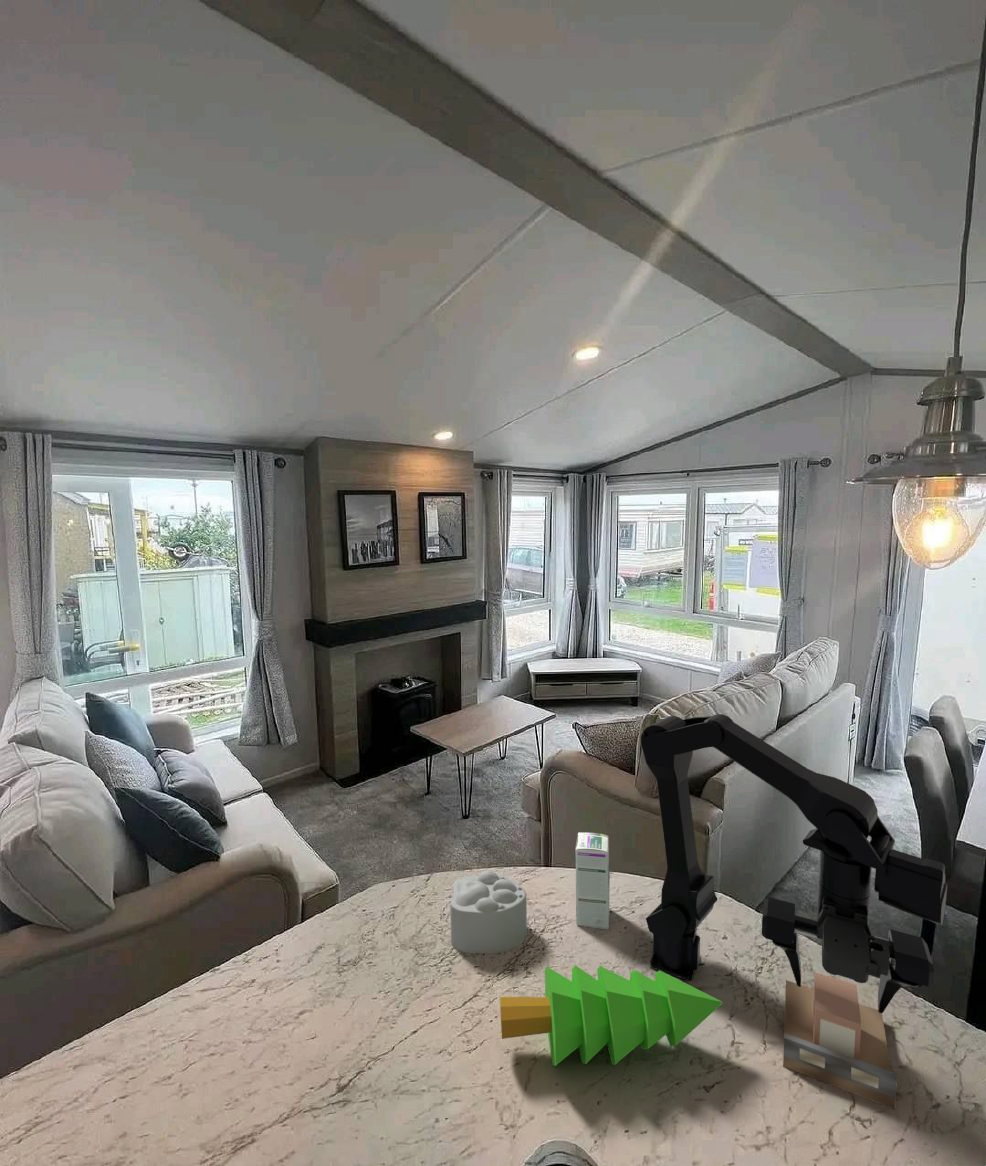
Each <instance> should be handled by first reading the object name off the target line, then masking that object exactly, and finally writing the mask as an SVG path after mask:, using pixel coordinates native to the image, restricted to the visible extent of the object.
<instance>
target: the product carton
mask: <svg viewBox="0 0 986 1166" xmlns="http://www.w3.org/2000/svg"><path fill="white" fill-rule="evenodd" d="M857 986H858V985H857V984H854V983H852V982H848V981H845V980H841V979H839V978H835V977H833V976H829V975H825V974H822V973H819V972H815V971H814V973H813V989H814V990H813V1010H812V1013H813V1044H816V1045H819V1046H821V1047H824V1048H827V1049H830V1050H832V1051H835V1052H838V1053H841V1054H843V1055H846V1056H849V1057H852V1058H854V1059H857V1060H859V1056H860V1038H861V1018H860V1010H859V1004H860V1002H859V996H858V987H857Z"/></svg>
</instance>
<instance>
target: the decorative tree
mask: <svg viewBox="0 0 986 1166" xmlns="http://www.w3.org/2000/svg"><path fill="white" fill-rule="evenodd" d="M596 971H597V979H596V978H595V977H593V976H592V975H590V973H588V972H586V971H585V970H583V969H582V968H580V967H579V966H578V965H574V966H573V967H572V968H571V980H570V979H569V978H567V977H565V976H564V975H562V974H561V973H559V972H557V971H555V970H553V969H552V968H551V967H549V966H547V967H546V968H545V970H544V996H543V997H542V996H540V997H539V996H533V997H531V996H500V997H499V1007H500V1010H499V1011H500V1023H501V1025H500V1028H501V1030H500V1031H501V1039H502V1040H503V1039H504V1040H505V1039H510V1038H511V1039H512V1038H518V1037H519V1038H520V1037H527V1036H535V1035H541V1034H542V1035H543V1034H547V1036H548V1042H549V1043H548V1044H549V1050H550V1056H551V1063H552V1066H555V1067H557V1065H558V1064H560V1063H561V1062H562V1061H563V1060H564V1059H566V1057H569V1056H570V1054H571V1053H573V1052H574V1051H575V1050H576V1049H578V1050H579V1054H580V1059H581V1064H585V1065H587V1063H589V1061H591V1060H592V1058H594V1057H595V1055H597V1054H598V1053H599V1052H600V1051H601V1050H602V1049H603V1048H604V1047H605V1046H607V1050H608V1054H609V1059H610V1063H611V1065H617V1064H618V1063H619V1062H620V1061H621V1060H623V1059H624V1058H625V1057H626V1056H627V1055H628V1054H630V1053H631V1052H632V1051H633V1050H634V1049H636V1048H637V1047H638V1046H639V1045H640V1049H641V1050H649V1049H650V1048H652V1046H654V1045H655V1044H656V1043H657V1042H659V1041H661V1039H662V1038H663V1037H665V1036H666V1039H667V1041H668V1044H669V1047H675V1046H677V1045H679V1044H680V1043H681V1042H682V1041H683V1040H684V1039H685V1038H686V1037H687V1036H688V1035H689V1034H690V1033H692V1032H693V1031H694V1030H695V1029H696V1028H697V1027H698V1026H699V1025H700V1024H701V1023H703V1022H704V1021H705V1020H706V1019H707V1018H708V1017H710V1015H711V1014H713V1013H714V1012H715V1011H716V1010H717V1009H718V1008H719V1007H720V1006H721V1005H722V1004H724V1001H721V1000H720V999H717V998H716V997H714V996H712V995H709V994H707V993H706V992H704V991H702V990H699V989H698V988H696V987H694V986H692V985H690V984H688V983H685V982H684V981H681V980H680V979H678V978H676V977H673V975H671V974H669V973H666V972H663V971H660V970H658V971H656V972H655V973H654V978H655V979H652V978H651V977H649V976H647V975H645V974H644V973H642V972H640V971H638V970H637V969H636V970H635V969H634V970H632V971H630V973H629V979H627V978H626V977H623V976H622V975H620V974H617V973H615V972H614V971H611V970H610V969H608V968H607V967H604V966H601V965H599V966H598V968H597V969H596Z"/></svg>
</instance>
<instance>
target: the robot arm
mask: <svg viewBox="0 0 986 1166" xmlns="http://www.w3.org/2000/svg"><path fill="white" fill-rule="evenodd" d="M639 741H640V748H641V751H642V753H643V757H644V761H645V764H646V765H647V767H648V769H649V770H650V771H651V773H652V774H653V776H654V778H655V781H656V786H657V795H658V803H659V811H660V822H661V828H662V829H661V830H662V836H663V837H662V838H663V846H664V853H665V861H666V872H665V875H664V879H663V883H662V888H661V897H660V898H661V899H660V903H659V905H657V906H656V907H655V908H654V910H652V912H651V913H650V914H649V915H648V916H646V918H645V921H646V925H647V928H648V931H649V932H650V934H651V933H652V956H651V958H650V961H649V967H650V968H653V969H655V970H658V971H659V970H660V971H662V972H664V973H666V974H668V975H671V976H675V977H678V978H681V979H683V980H686V981H693V978H694V975H695V974H694V973H695V971H697V970H698V969H699V964H700V959H701V958H700V957H701V937H700V936H699V935H697V933H698V932H697V929H698V927H699V926H700V925H701V924H702V923H703V921H704V920H705V919H706V918H707V917H708V916H709V914H710V913H711V912H712V910H713V909H714V905H715V903H717V901H718V897H717V895H716V892H715V891H716V890H715V879H714V876H713V875H708V874H705V873H704V871H703V870H702V868H701V867H700V864H699V861H698V853H697V843H696V835H695V828H694V820H693V812H692V804H691V803H692V802H691V796H690V788H689V786H690V785H689V780H688V773H689V768H690V766H691V762H692V758H693V752H694V751H698V750H701V749H707V748H714V749H715V750H717V751H719V752H720V753H722V754H723V755H725V756H726V757H727V758H729V759H731V760H732V761H733V762H735V763H736V764H738V765H739V766H741V767H743V768H744V769H745V770H746V771H748V772H750V773H751V774H752V775H754V776H756V777H757V778H759V779H760V780H762V781H763V782H765V783H766V784H768V785H769V786H771V787H772V788H774V789H775V790H777V791H778V792H780V793H781V794H782V795H784V796H785V797H787V798H788V799H789V800H790V801H791V802H793V804H795V805H796V806H797V808H798V809H799V811H800V812H801V813H802V815H803V816H804V818H805V819H806V820H807V821H808V822H809V823H810V824H811V825H813V827H815V828H814V829H811V830H809V831H808V833H807V834H806V836H805V837H804V838H803V839H802V844H803V845H805V847H806V846H807V847H810V848H812V849H814V850H815V849H816V850H818V851H819V865H818V866H819V867H818V868H819V869H818V870H819V871H818V888H817V891H818V892H817V910H816V911H817V913H816V920H813V919H810V918H807V917H803V916H799V915H796V904H795V903H793V902H790V901H789V902H788V901H785V900H781V899H778V898H774V897H770V896H767V898H765V899H764V900H763V905H762V906H763V908H762V918H761V935H762V936H763V937H764V939H766V940H770V941H772V944H773V945H774V946H775V947H778V948H781V950H783V951H784V953H785V955H786V957H787V959H788V962H789V964H790V968H791V971H792V974H793V978H794V981H795V983H797V986H799V987H801V985H802V966H801V965H802V964H801V955H800V954H801V953H800V941H799V935H803V936H805V937H809V938H813V939H816V940H820V941H821V965H822V968H823V970H824V971H825V972H826V973H828V974H830V975H833V976H840V977H843V978H846V979H850V980H851V981H852V980H853V981H854V982H856V983H859V984H865V983H867V982H868V980H869V977H870V976H872V977H873V978H878V979H879V984H878V985H879V986H878V990H877V1010H878V1012H879V1013H882V1014H883V1013H885V1010H886V1008H888V1005H889V1004H890V1002H891V1001H892V999H893V998H894V997H895V995H896V993H897V992H898V991H899V990H900V989H901V988H903V987H912V988H918V987H919V986H920V985H922V986H924V987H927V988H928V987H932V986H933V985H934V978H935V977H934V976H935V970H934V963H933V959H932V956H931V954H930V950H929V946H928V943H927V942H926V941H925V940H924V939H923V937H921V936H918V935H913V934H909V933H906V932H903V931H899V930H895V929H891V928H890V929H889V930H888V934H887V935H888V936H887V939H886V938H883V937H879V936H876V935H875V936H874V935H873V934H872V931H871V928H870V925H869V920H870V919H869V918H870V904H871V902H870V901H871V883H872V869H875V872H874V873H875V874H874V875H875V876H874V883H873V884H874V892H875V893H878V901H879V902H883V904H884V905H886V906H888V907H891V908H894V909H895V910H896V909H897V910H899V911H901V912H905V913H907V914H909V915H913V916H915V917H918V918H921V919H924V920H926V921H929V922H930V923H931V922H932V923H934V924H936V925H939V926H943V921H944V918H945V917H944V916H945V912H946V911H945V910H946V902H947V892H948V883H947V882H946V873H945V869H946V866H945V864H944V862H941V861H936V860H934V859H933V860H932V859H929V858H922V857H919V856H915V855H912V854H909V853H905V852H902V851H899V850H896V849H894V845H895V843H896V841H895V839H894V836H892V835H891V832H889V830H888V828H887V827H886V825H885V824H884V823H883V821H882V819H880V817H879V816H878V815H879V813H878V808H877V806H876V802H875V800H874V799H873V797H872V796H871V795H870V794H869V793H867V792H866V791H865V790H863V789H861V788H859V787H858V786H855V785H853V784H851V783H848V782H846V781H844V780H841V779H839V778H837V777H835V776H830V775H827V774H822V773H818V772H816V771H813V770H812V769H809V768H807V767H805V766H804V765H802V764H801V763H800V762H798V761H796V760H795V759H793V758H792V757H789V756H788V755H786V754H785V753H783V752H782V751H780V750H779V749H778V748H776V747H774V746H772V745H771V744H769V743H768V742H766V741H764V740H762V739H761V738H760V737H758V736H756V735H754V734H753V733H752V732H750V731H749V730H746V729H745V728H743V727H742V726H740V725H738V724H737V723H736V722H735V721H734V720H733V719H732V718H731V717H730V716H728V715H726V714H722V713H716V714H712V715H709V716H695V717H694V716H693V717H688V718H681V717H679V716H675V715H669V716H668V715H667V716H666V717H664V718H662V719H660V720H658V721H656V722H655V723H652V724H650V725H648V726H647V727H645V729H644V730H643V731H642V732H641V734H640V740H639ZM869 837H870V840H868V838H869Z"/></svg>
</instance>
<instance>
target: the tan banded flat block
mask: <svg viewBox="0 0 986 1166" xmlns="http://www.w3.org/2000/svg"><path fill="white" fill-rule="evenodd" d="M813 990H814V988H812V987H808V986H805V985H803V984H801V987H799V986H797V983H796V982H794V981H790V980H788V979H786V980H785V993H784V994H785V997H784V1023H783V1027H784V1028H783V1029H784V1031H783V1033H784V1034H783V1055H782V1057H783V1058H782V1066H783V1067H785V1068H788V1069H790V1070H792V1071H795V1072H797V1073H799V1074H802V1075H805V1076H807V1077H811V1078H813V1079H815V1080H818V1081H820V1082H823V1083H826V1084H829V1085H831V1086H833V1087H836V1088H837V1089H841V1090H843V1091H846V1092H848V1093H851V1094H854V1095H856V1096H859V1097H861V1098H864V1099H867V1100H870V1101H872V1102H874V1103H877V1104H880V1105H883V1106H884V1107H887V1108H890V1109H892V1110H896V1100H897V1083H898V1077H897V1073H895V1072H893V1071H892V1068H891V1061H890V1055H889V1050H888V1043H887V1037H886V1036H887V1035H886V1029H885V1025H884V1018H883V1013H879V1012H878V1008H873V1007H870V1006H867V1005H864V1004H862V1003H859V1010H860V1018H861V1038H860V1056H859V1060H857V1059H854V1058H852V1057H849V1056H846V1055H843V1054H841V1053H838V1052H835V1051H832V1050H830V1049H827V1048H824V1047H821V1046H819V1045H816V1044H813V1013H812V1010H813Z"/></svg>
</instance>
